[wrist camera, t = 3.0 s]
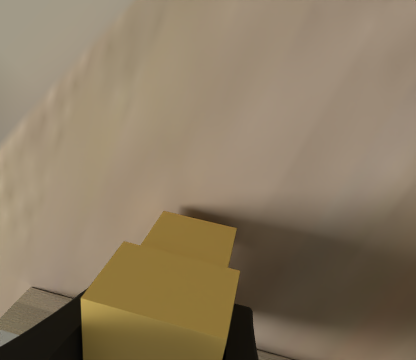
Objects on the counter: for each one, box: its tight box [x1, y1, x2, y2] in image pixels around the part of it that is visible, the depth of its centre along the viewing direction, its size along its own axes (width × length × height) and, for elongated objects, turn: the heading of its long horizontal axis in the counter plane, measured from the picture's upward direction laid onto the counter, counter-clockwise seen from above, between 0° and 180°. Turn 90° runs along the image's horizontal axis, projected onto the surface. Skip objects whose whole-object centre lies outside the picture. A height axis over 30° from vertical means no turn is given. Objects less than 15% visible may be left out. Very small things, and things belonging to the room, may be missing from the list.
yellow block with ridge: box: [81, 211, 240, 360], centre depth 11 cm, size 4×5×5 cm
